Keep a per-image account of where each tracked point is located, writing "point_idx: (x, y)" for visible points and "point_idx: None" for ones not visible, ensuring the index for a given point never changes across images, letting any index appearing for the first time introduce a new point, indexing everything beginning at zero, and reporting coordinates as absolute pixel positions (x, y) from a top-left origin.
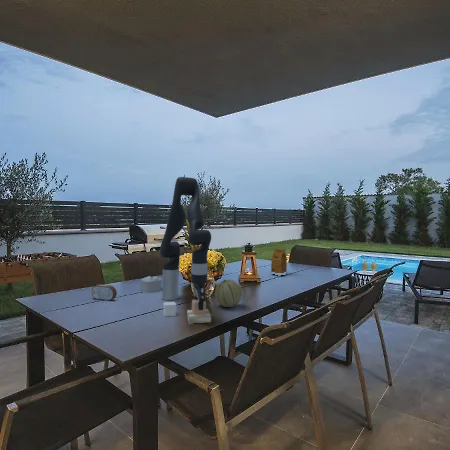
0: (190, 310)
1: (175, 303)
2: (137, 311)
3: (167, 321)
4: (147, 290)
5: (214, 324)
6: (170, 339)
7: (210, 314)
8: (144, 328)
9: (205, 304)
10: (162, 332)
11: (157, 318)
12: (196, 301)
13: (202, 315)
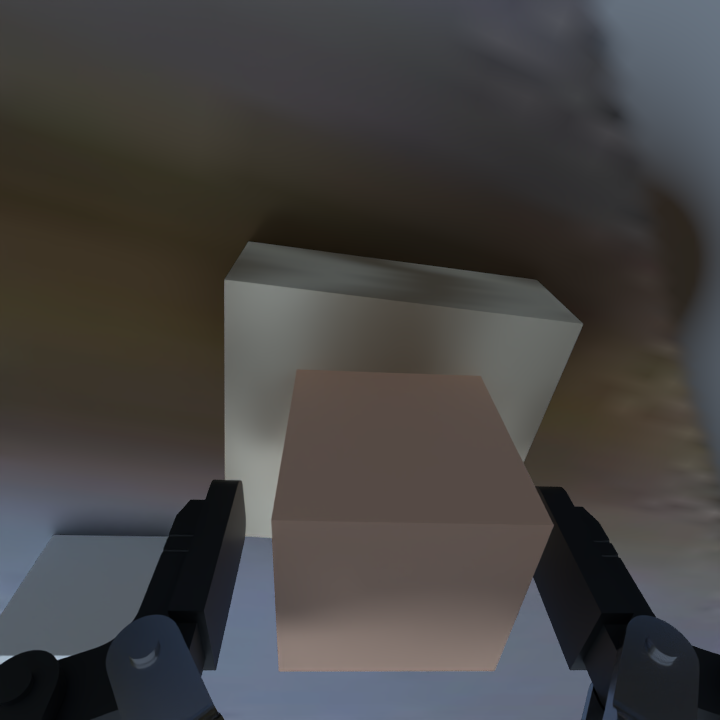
0: (253, 508)
1: (66, 656)
2: None
3: None
4: None
5: (597, 248)
6: (690, 612)
7: (526, 317)
8: (420, 692)
9: (533, 495)
10: (542, 634)
11: (229, 639)
12: (411, 637)
13: (516, 427)
